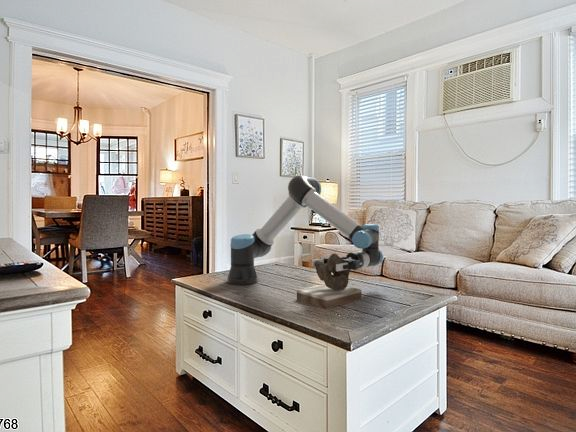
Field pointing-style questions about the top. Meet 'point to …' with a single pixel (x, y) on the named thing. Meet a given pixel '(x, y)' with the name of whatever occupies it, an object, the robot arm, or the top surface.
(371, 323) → the top surface
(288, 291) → the top surface
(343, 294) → the block
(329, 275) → the decorative stone
